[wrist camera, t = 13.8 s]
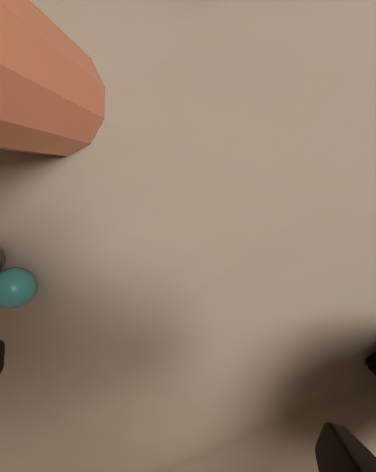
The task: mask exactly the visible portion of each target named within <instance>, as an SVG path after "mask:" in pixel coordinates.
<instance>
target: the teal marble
mask: <svg viewBox="0 0 376 472" xmlns="http://www.w3.org/2000/svg"><path fill="white" fill-rule="evenodd" d="M36 288H37V284H36V280H35V278H34V276H33V275H32V274H31V273H30V272H28V271H27V270H24V269H21V268H10V269H6V270H4V271H2V272H0V306H1V307H5V308H17V307H20V306H23V305H25V304H26V303H28V302H29V301H30V300H31V299H32V298H33V296H34V294H35V292H36Z"/></svg>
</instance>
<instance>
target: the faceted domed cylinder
mask: <svg viewBox="0 0 376 472" xmlns="http://www.w3.org/2000/svg"><path fill="white" fill-rule="evenodd" d="M103 120H104V85H103V83H102V81H101V79H100V77H99V75H98V73H97V71H96V69H95V66H94V64H93V62H92V60H91V58H90V57H89V56H88V55H87V54H86V53H85V52H84V51H83V50H82V49H81V48H80V47H79V46H77V45H76V44H75V43H74V42H73V41H72V40H71V39H70V38H69V37H68V36H67V35H66V34H65V33H64V32H63V31H62V30H61V29H60V28H59V27H57V26H56V25H55V24H54V23H53V22H52V21H51V20H50V19H49V18H48V17H47V16H46V15H45V14H44V13H43V12H42V11H41V10H40V9H39V8H37V7H36V6H35V5H34V4H33V3H32V2H31V1H30V0H0V149H4V150H12V151H20V152H28V153H36V154H45V155H58V156H69V155H71V154H72V153H74V152H76V151H78V150H80V149H81V148H83V147H85V146H87V145H89V144H90V143H91V141H92V140H93V138H94V136H95V134H96V132H97V131H98V129H99V127H100V125H101V123H102V121H103Z"/></svg>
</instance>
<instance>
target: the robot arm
mask: <svg viewBox="0 0 376 472" xmlns="http://www.w3.org/2000/svg"><path fill="white" fill-rule="evenodd" d="M4 354H5V343H4V341H2V340H0V373H1V372H2V370H3V367H4ZM373 363H375V365H372V364H373ZM365 364H366V366H367V367H368V368H369V370H370V371H372V372H373V373H374V374H375V375H376V352H375V353H374V354H372V355H371V356H370V357H368V358H367V359H366V361H365ZM315 453H316V459H317V464H318V469H319V472H376V457H375V456H374V455H373V454H372V453H371V452H370V451H369V450H368V449H367V448H366V447H365V446H364V445H363V444H362V443H361V442H360V441H359V440H358V439H357V438H356V437H355V436H354V435H353V434H352V433H351V432H350V431H349V430H348V429H347V428H346V427H345V426H344V425H342V424H340V423H336V422H331V421H326V422H325V423H324V425H323V427H322V430H321V432H320V435H319V437H318V440H317V442H316V447H315Z"/></svg>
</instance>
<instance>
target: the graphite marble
mask: <svg viewBox="0 0 376 472" xmlns="http://www.w3.org/2000/svg"><path fill="white" fill-rule="evenodd" d="M4 262H5V256H4V253H3V251H2V249H1V248H0V270H1V269H2V267H3V265H4Z"/></svg>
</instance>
